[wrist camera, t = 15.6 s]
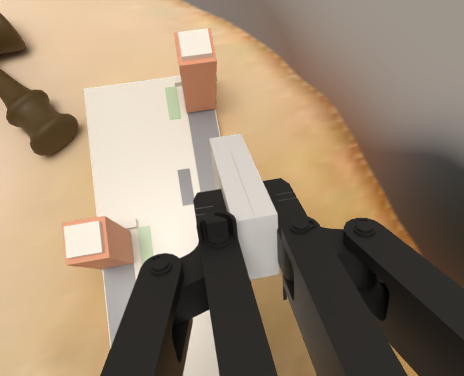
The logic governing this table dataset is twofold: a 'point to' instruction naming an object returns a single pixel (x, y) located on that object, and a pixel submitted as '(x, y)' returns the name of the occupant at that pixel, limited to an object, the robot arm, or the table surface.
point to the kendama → (32, 104)
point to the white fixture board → (151, 186)
